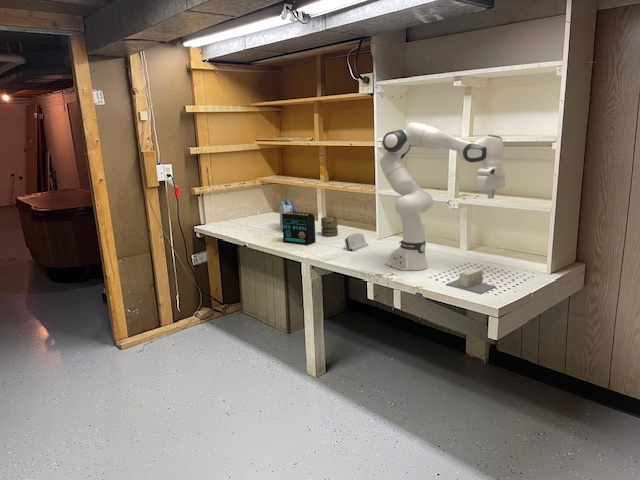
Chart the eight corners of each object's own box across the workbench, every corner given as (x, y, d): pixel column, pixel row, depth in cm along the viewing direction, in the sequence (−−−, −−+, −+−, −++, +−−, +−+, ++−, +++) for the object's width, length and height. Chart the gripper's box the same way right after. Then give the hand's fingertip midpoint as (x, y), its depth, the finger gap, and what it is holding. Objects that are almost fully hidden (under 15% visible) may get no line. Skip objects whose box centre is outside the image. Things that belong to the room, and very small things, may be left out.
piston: (336, 219, 324) (320, 219, 325) (337, 236, 326) (320, 237, 328) (337, 216, 335) (321, 216, 336) (338, 233, 337) (322, 233, 339)
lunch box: (297, 232, 344) (296, 203, 339) (282, 233, 342) (281, 204, 338) (293, 225, 369) (291, 198, 364) (279, 226, 367) (277, 199, 363)
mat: (445, 285, 222) (445, 284, 222) (461, 278, 230) (461, 277, 230) (481, 294, 209) (481, 293, 209) (496, 287, 217) (496, 286, 217)
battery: (315, 242, 313) (314, 212, 308) (307, 245, 305) (306, 214, 300) (291, 239, 323) (290, 210, 318) (283, 242, 315) (281, 212, 310)
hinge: (353, 251, 287) (348, 235, 287) (347, 253, 290) (342, 237, 290) (368, 245, 299) (364, 230, 299) (363, 247, 302) (358, 232, 302)
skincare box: (475, 267, 225) (459, 272, 218) (483, 269, 222) (467, 274, 214) (474, 280, 226) (458, 285, 219) (482, 282, 223) (466, 287, 216)
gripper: (497, 167, 237) (495, 195, 240) (475, 171, 224) (473, 200, 227) (509, 168, 233) (507, 196, 236) (487, 171, 219) (486, 201, 223)
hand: (490, 198), depth 231 cm, fingers closed
